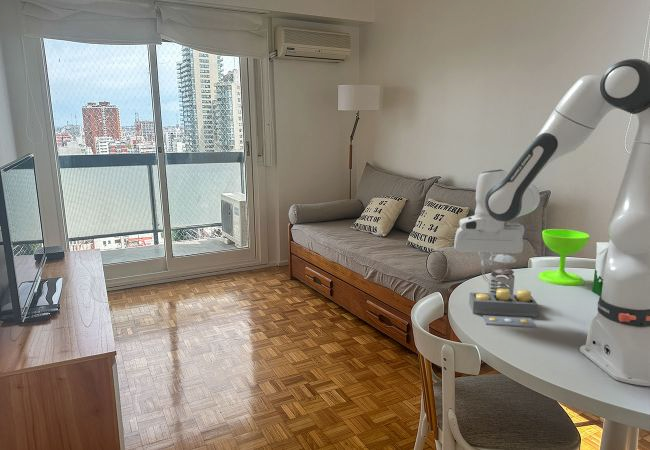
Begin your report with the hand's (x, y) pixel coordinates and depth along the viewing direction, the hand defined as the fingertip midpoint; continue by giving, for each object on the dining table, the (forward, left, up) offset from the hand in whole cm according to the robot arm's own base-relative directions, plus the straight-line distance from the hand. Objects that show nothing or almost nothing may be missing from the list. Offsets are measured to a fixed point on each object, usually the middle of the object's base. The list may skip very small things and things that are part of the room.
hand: (486, 265), depth 142 cm
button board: (-4, -6, -15) cm, 16 cm away
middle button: (0, -6, -11) cm, 12 cm away
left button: (0, +1, -13) cm, 13 cm away
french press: (+12, -7, -15) cm, 20 cm away
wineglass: (+36, -35, -15) cm, 52 cm away
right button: (0, -12, -11) cm, 16 cm away
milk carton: (+20, -45, -15) cm, 51 cm away
